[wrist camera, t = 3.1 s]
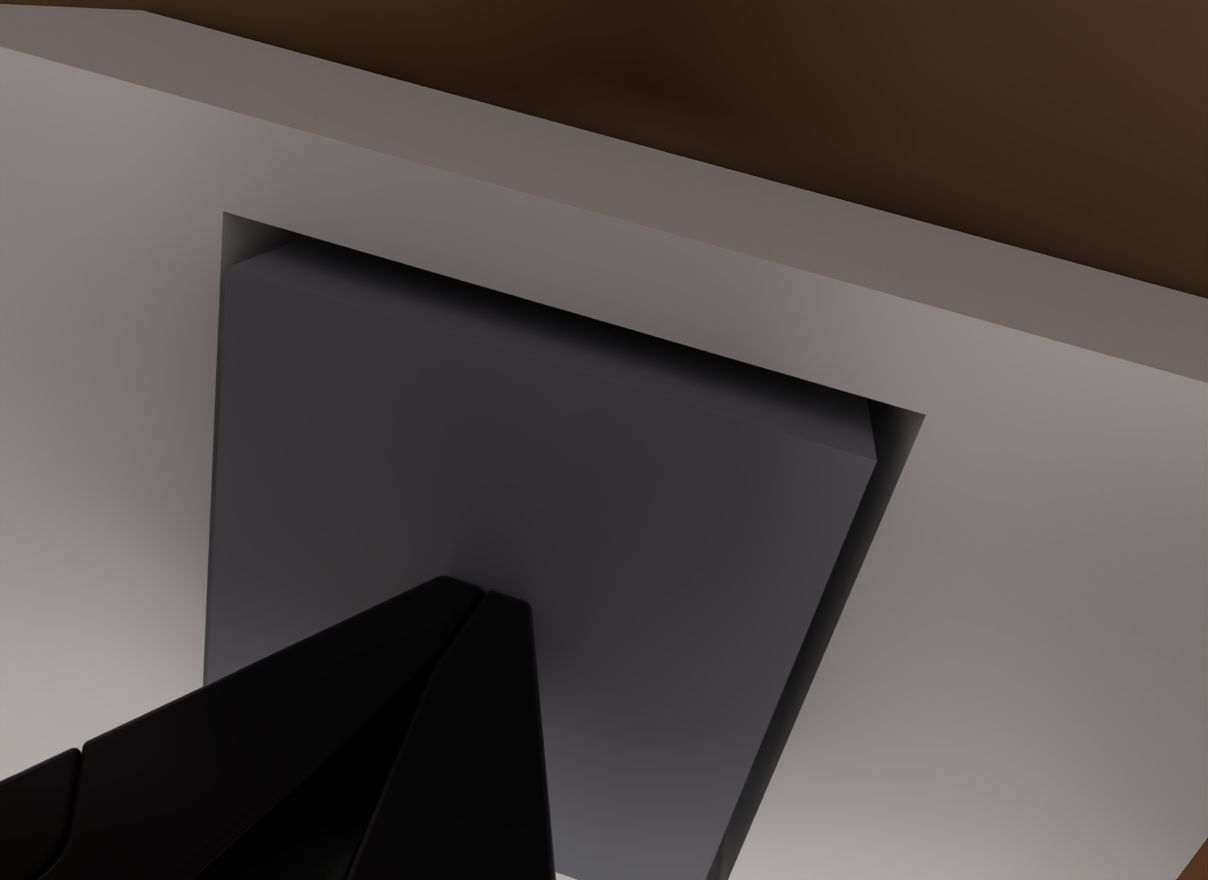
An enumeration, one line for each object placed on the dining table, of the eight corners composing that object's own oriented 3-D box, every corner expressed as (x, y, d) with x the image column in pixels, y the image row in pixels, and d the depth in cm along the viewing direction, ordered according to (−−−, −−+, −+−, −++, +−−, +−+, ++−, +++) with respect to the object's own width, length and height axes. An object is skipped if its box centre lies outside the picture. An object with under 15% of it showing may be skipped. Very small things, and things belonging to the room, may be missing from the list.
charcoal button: (721, 679, 12) (688, 917, 9) (361, 564, 13) (203, 750, 9) (854, 321, 10) (877, 460, 7) (411, 195, 10) (227, 268, 7)
